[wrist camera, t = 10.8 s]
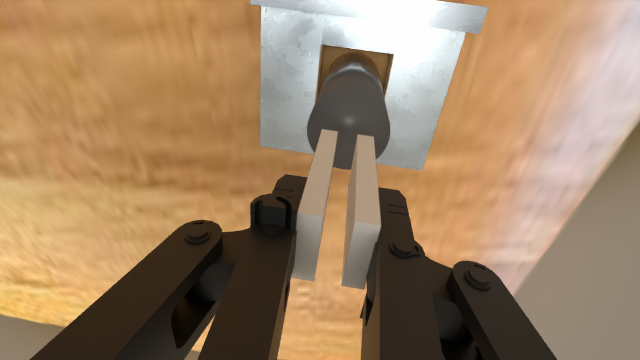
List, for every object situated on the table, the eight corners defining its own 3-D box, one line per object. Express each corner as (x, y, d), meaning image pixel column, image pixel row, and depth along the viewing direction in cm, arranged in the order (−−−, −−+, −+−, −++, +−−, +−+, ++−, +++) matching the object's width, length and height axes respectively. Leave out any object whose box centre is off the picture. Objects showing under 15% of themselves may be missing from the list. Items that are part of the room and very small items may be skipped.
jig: (266, 136, 33) (250, 160, 29) (269, -20, 26) (249, -23, 21) (418, 158, 33) (427, 186, 28) (465, 4, 25) (488, 7, 21)
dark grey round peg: (324, 101, 31) (303, 163, 20) (330, 49, 28) (310, 85, 17) (373, 108, 30) (380, 174, 19) (384, 56, 28) (399, 97, 17)
